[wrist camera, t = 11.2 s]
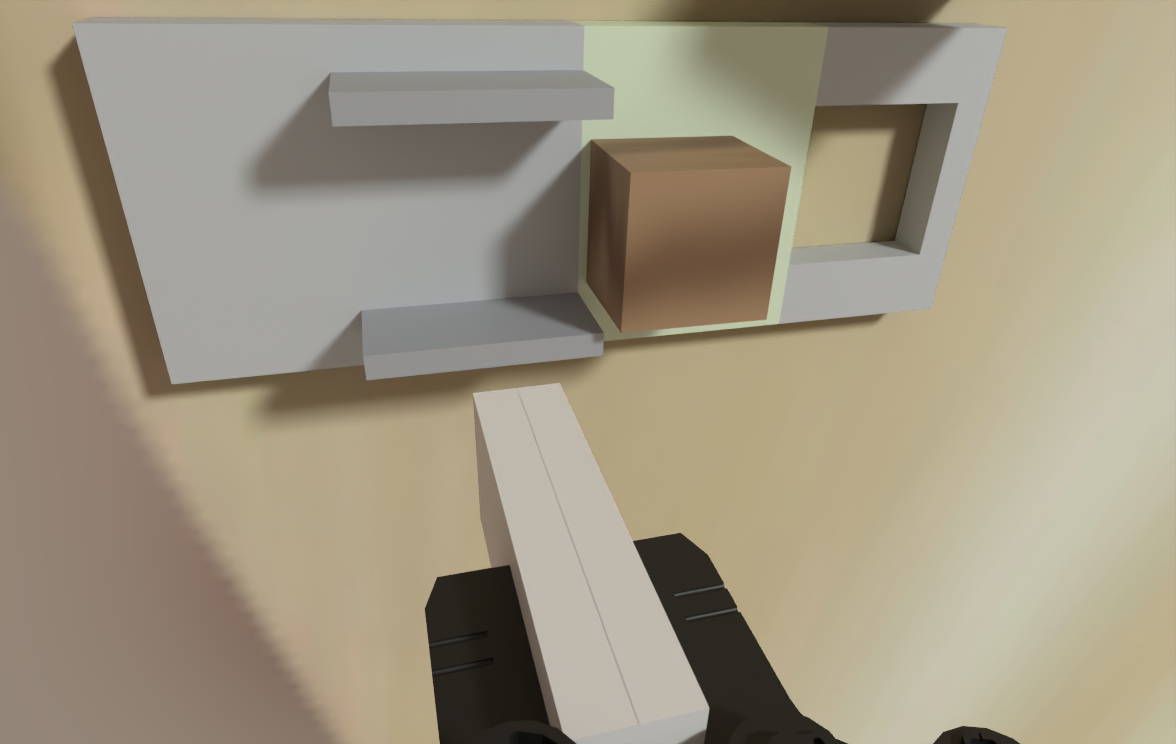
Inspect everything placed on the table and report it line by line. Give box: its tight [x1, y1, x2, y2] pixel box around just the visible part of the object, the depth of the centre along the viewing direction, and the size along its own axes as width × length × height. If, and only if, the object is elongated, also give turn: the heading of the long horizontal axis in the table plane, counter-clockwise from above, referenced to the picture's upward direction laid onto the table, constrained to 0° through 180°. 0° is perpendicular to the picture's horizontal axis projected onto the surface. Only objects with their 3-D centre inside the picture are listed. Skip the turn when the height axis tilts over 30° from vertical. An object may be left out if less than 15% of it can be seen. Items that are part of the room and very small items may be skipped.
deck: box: [72, 18, 1007, 384], centre depth 30 cm, size 13×35×6 cm, turn 89°
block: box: [586, 136, 791, 333], centre depth 30 cm, size 6×6×5 cm
